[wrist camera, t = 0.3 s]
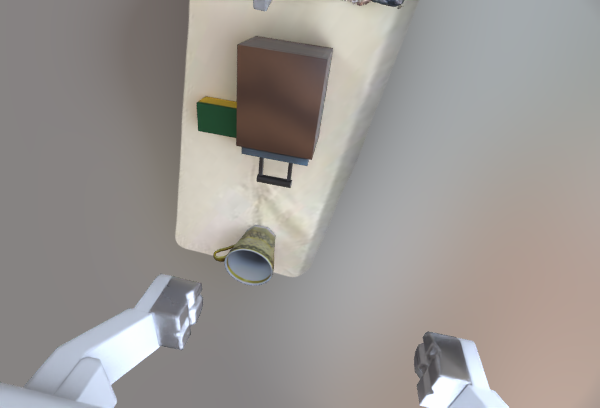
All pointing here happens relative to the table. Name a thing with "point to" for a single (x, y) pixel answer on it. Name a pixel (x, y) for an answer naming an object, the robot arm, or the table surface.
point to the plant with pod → (385, 0)
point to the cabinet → (281, 95)
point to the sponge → (217, 116)
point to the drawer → (274, 156)
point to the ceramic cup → (251, 256)
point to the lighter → (261, 4)
